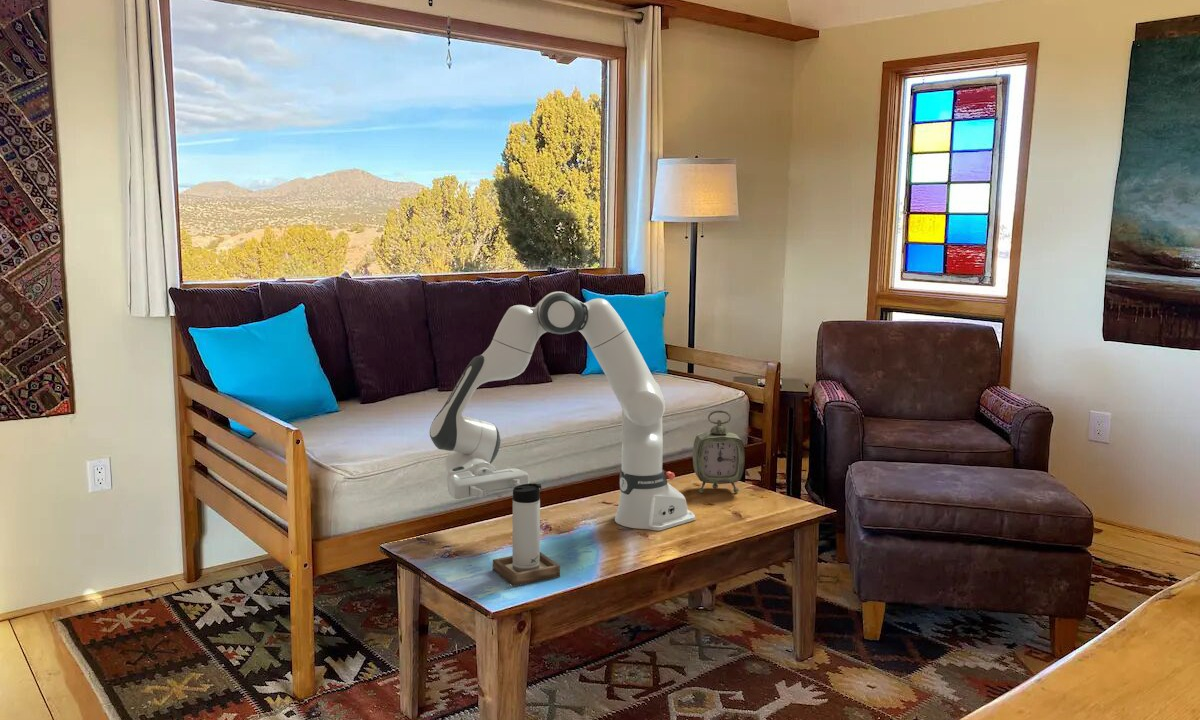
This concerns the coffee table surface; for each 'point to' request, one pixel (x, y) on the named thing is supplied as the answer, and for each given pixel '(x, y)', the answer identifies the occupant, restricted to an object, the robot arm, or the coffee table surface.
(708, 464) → the tabletop clock
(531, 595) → the coffee table surface
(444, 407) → the robot arm
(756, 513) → the coffee table surface
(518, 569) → the travel mug
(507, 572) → the tray
